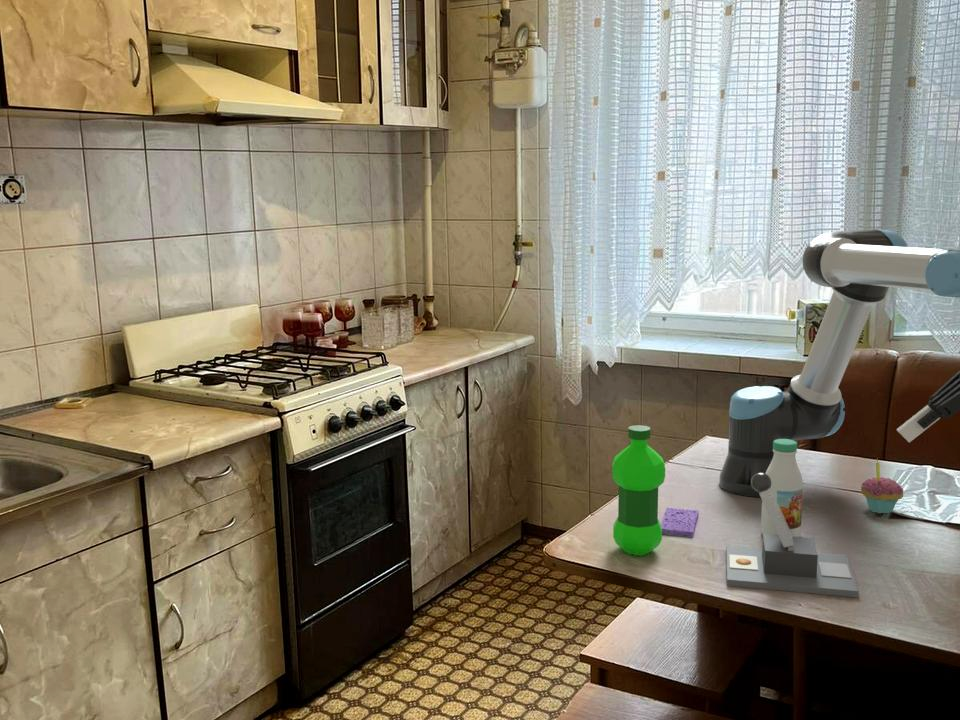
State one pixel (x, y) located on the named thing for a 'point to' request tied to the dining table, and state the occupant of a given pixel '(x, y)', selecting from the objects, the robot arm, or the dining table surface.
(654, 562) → the dining table surface
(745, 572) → the switch board
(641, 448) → the plastic bottle
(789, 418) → the robot arm
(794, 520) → the milk bottle
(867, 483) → the cupcake
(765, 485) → the toggle lever
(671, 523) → the sponges
